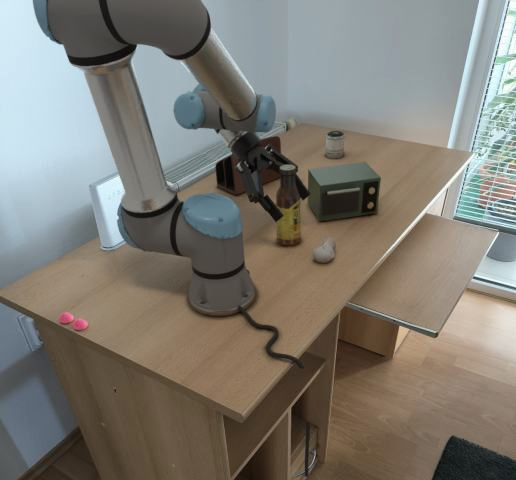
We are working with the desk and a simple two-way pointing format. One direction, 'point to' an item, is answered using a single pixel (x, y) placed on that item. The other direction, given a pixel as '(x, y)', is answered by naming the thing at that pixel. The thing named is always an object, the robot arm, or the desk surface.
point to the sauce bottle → (288, 207)
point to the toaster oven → (343, 191)
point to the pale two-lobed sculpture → (325, 251)
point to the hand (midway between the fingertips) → (293, 208)
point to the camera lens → (335, 144)
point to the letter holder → (232, 179)
